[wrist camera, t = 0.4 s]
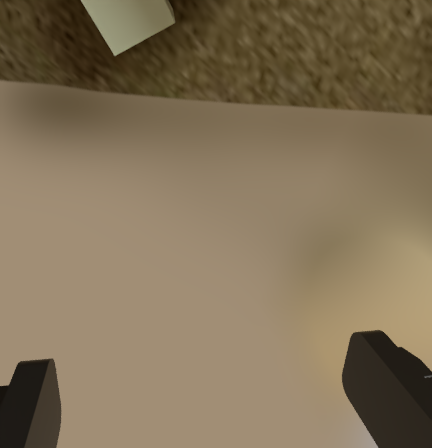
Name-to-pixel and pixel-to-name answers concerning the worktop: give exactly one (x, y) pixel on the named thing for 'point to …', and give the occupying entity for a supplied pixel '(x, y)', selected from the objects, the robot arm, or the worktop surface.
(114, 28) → the sage cube
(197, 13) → the worktop surface
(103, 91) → the worktop surface
